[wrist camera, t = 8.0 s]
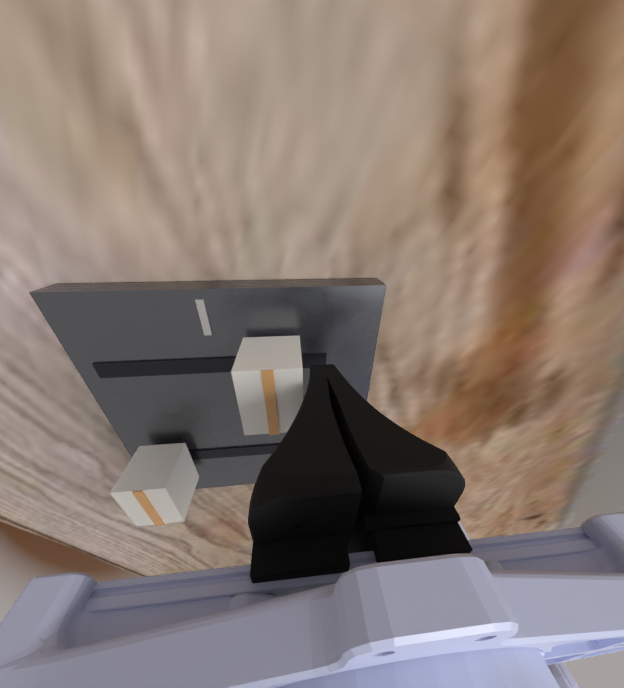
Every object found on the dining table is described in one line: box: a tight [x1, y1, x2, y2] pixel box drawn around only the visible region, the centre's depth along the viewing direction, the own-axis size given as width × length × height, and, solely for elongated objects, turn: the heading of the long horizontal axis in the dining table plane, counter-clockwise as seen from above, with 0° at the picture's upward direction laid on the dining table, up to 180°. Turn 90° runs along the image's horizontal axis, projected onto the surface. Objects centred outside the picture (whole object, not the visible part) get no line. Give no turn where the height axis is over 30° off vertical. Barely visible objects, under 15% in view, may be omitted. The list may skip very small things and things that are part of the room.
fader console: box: [29, 278, 386, 489], centre depth 16 cm, size 17×17×2 cm
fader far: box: [110, 443, 199, 526], centre depth 15 cm, size 4×3×3 cm
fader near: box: [231, 335, 303, 435], centre depth 12 cm, size 4×3×3 cm
